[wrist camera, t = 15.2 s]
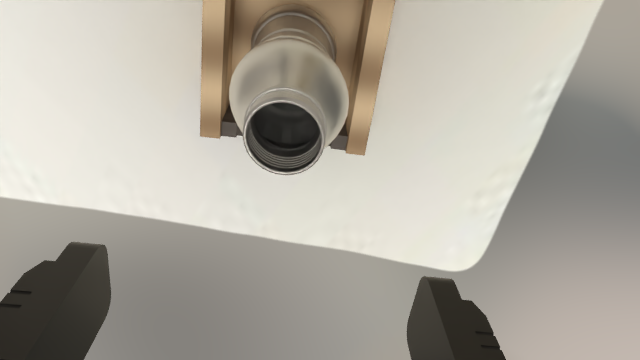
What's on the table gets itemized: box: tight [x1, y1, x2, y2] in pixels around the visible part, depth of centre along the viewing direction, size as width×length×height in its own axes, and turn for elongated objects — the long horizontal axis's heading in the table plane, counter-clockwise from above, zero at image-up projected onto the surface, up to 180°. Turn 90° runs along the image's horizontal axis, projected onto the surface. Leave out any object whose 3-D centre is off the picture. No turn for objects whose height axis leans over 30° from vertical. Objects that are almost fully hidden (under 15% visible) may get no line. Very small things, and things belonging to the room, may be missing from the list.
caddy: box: [200, 0, 395, 155], centre depth 36 cm, size 14×13×6 cm
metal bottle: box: [229, 4, 349, 175], centre depth 29 cm, size 6×7×20 cm
